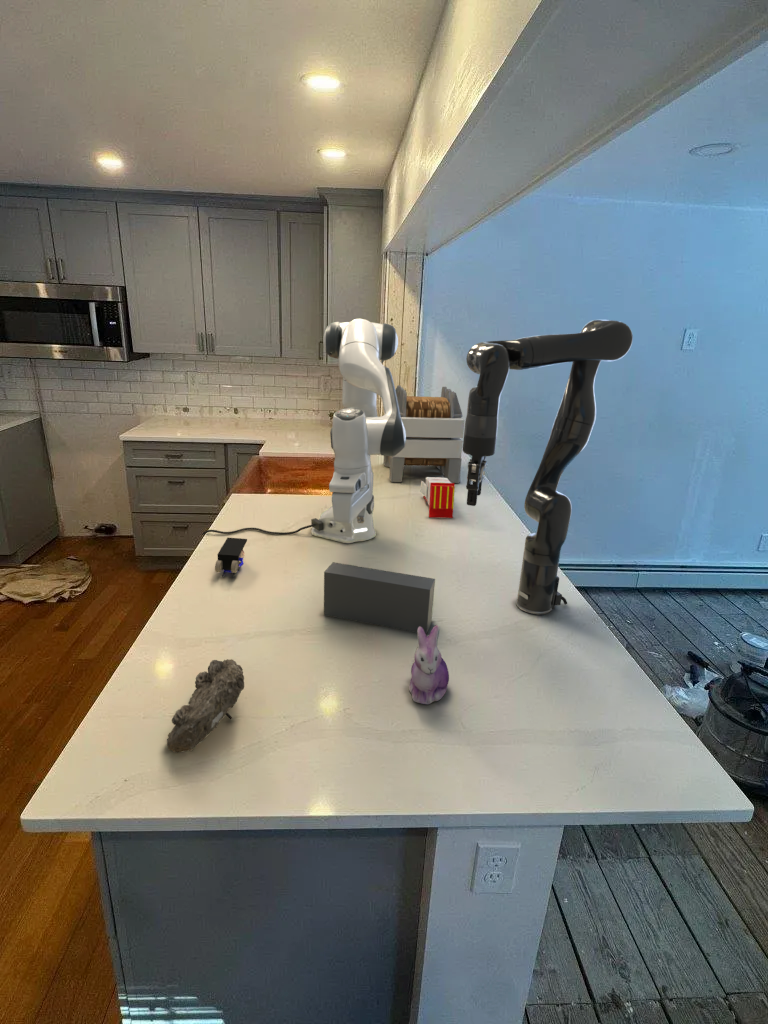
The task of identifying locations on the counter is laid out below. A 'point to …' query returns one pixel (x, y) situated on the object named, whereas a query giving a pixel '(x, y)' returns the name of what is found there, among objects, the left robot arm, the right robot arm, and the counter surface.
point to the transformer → (429, 434)
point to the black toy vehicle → (230, 556)
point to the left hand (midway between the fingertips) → (355, 528)
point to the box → (378, 597)
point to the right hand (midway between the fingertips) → (473, 499)
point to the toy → (439, 496)
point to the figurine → (428, 669)
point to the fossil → (206, 705)
